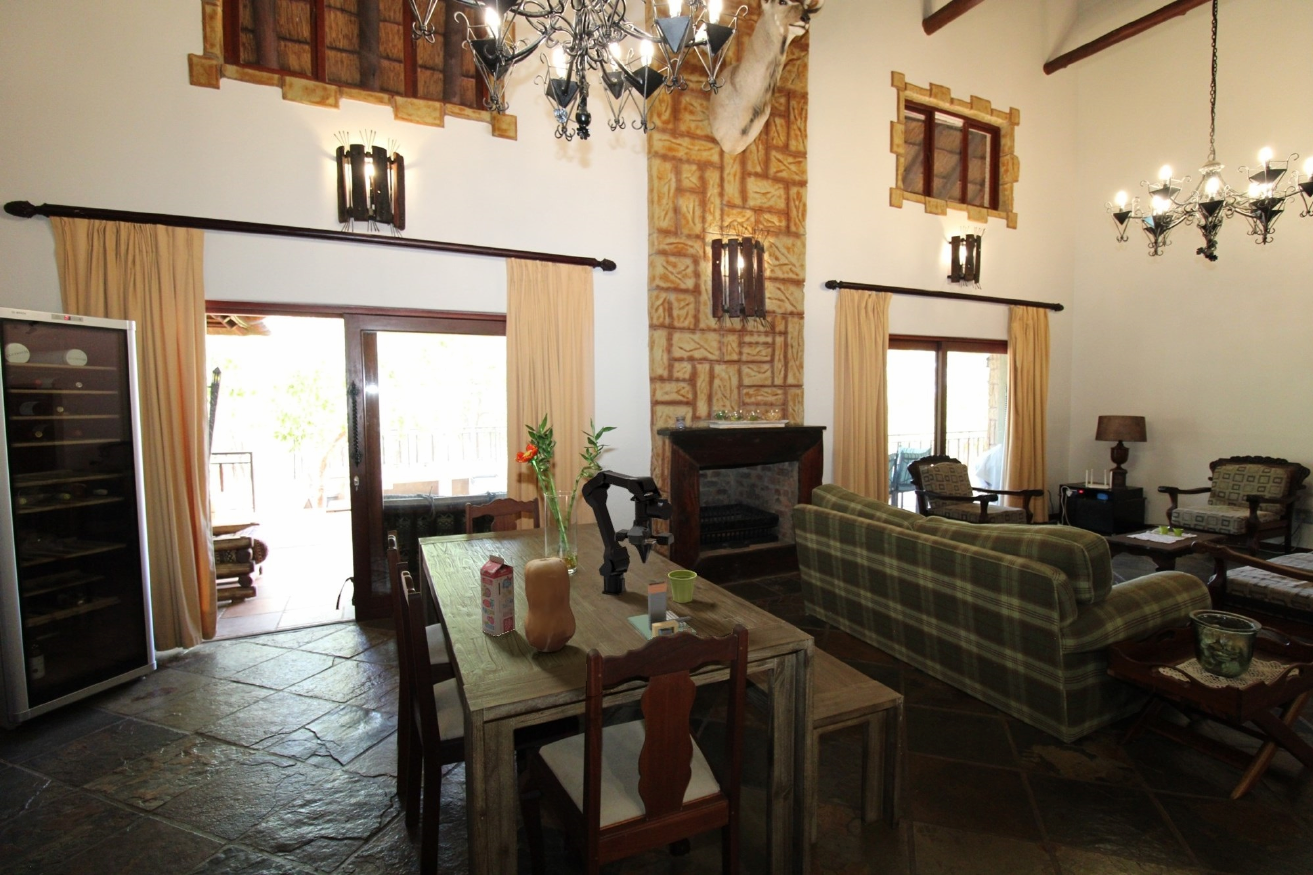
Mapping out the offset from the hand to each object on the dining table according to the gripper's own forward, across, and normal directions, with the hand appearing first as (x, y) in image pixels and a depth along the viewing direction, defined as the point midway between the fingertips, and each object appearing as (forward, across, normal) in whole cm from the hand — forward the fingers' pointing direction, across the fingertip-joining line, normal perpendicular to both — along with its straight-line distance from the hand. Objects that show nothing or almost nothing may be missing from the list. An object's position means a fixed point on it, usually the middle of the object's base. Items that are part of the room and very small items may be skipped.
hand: (644, 563), depth 198 cm
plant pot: (+13, +11, +6) cm, 18 cm away
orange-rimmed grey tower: (+12, +17, -20) cm, 29 cm away
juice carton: (+13, -31, -36) cm, 49 cm away
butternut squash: (+13, -10, -42) cm, 45 cm away
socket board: (+13, +12, -18) cm, 25 cm away
